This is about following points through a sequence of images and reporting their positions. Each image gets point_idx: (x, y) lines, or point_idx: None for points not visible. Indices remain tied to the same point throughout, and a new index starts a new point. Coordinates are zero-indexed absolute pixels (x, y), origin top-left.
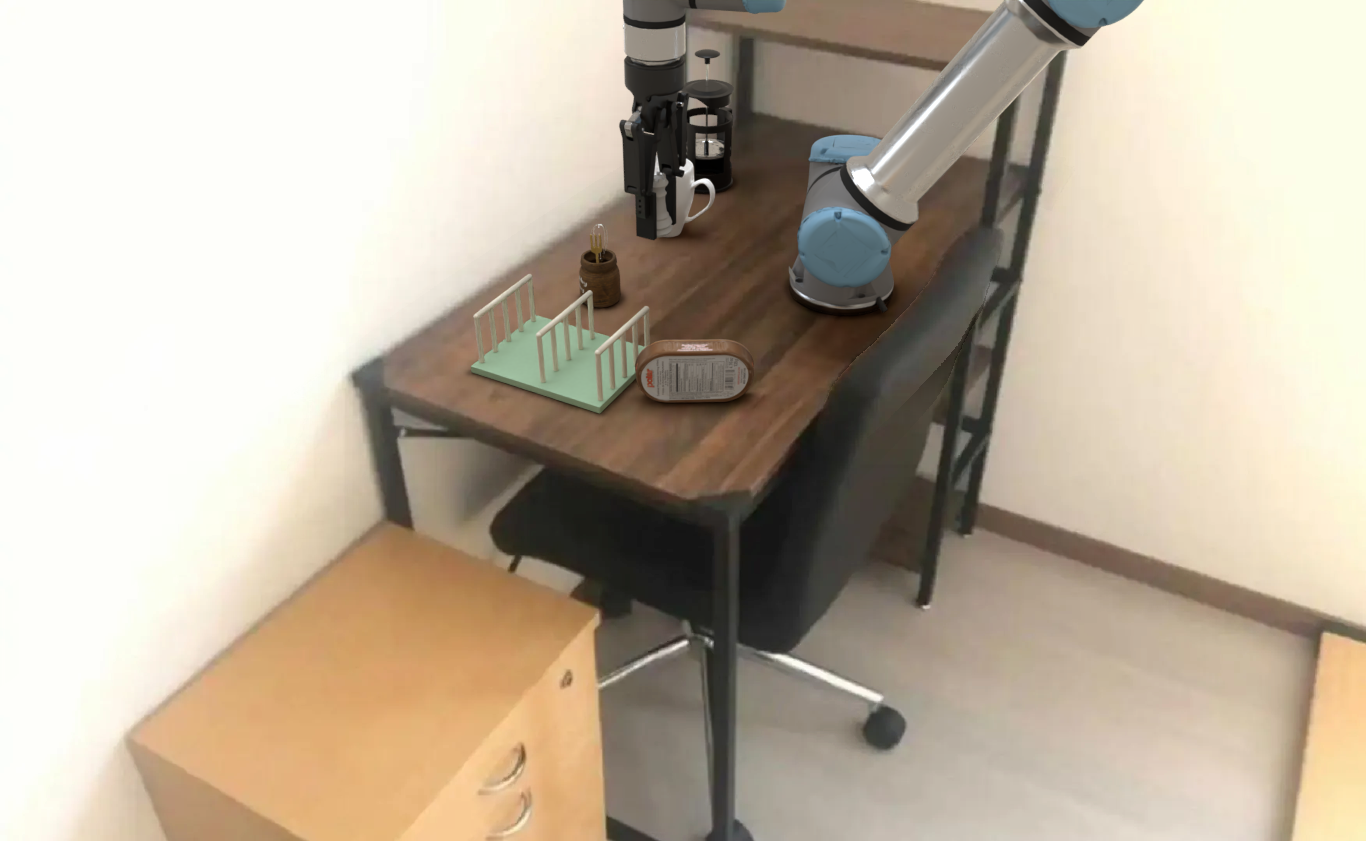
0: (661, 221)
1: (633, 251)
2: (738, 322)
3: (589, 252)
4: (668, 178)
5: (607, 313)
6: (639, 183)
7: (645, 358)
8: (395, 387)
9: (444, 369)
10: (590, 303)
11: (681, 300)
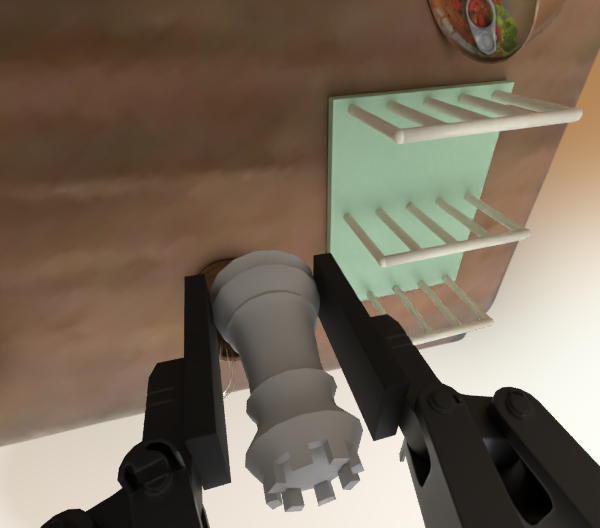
0: (294, 290)
1: (64, 344)
2: (102, 6)
3: (229, 356)
4: (214, 453)
5: (256, 250)
6: (588, 456)
7: (553, 19)
8: (488, 304)
9: (450, 296)
10: (378, 248)
11: (130, 183)
